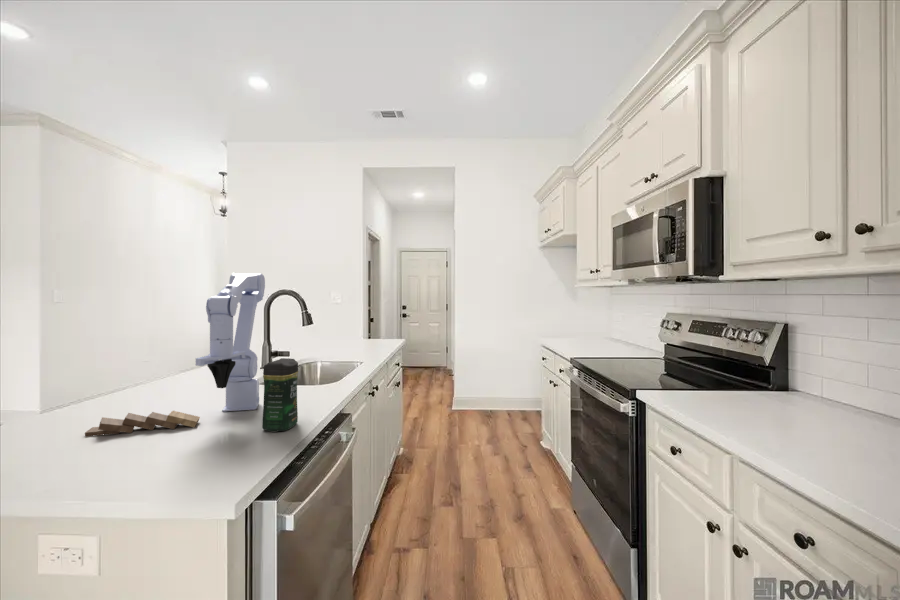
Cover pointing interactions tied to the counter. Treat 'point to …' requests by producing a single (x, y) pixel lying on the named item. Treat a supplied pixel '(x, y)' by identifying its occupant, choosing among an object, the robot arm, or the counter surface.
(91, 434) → the wood grain rectangular block
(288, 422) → the coffee jar
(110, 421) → the brown rectangular block
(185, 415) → the tile
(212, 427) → the counter surface
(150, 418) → the tile
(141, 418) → the brown rectangular block
